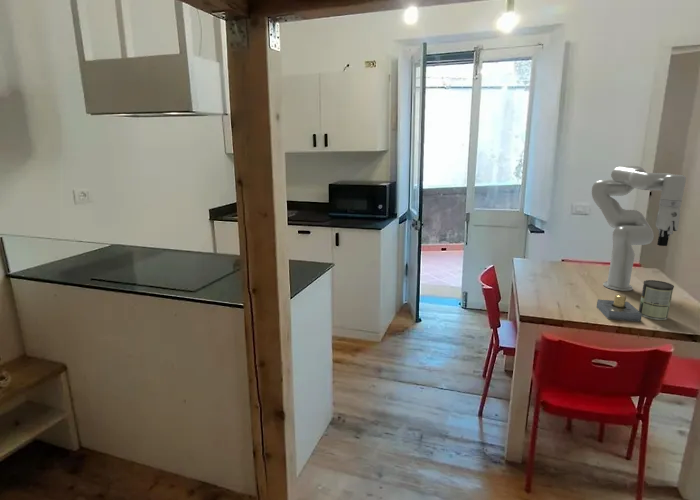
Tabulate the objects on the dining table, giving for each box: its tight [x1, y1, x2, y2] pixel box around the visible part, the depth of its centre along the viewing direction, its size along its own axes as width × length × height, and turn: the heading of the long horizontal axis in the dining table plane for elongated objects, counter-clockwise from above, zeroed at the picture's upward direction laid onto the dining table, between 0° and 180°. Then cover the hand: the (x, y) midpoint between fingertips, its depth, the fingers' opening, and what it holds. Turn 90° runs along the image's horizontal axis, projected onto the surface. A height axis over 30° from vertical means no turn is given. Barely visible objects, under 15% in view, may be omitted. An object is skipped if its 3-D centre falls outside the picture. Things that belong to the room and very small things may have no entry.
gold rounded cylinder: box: [613, 294, 627, 309], centre depth 179 cm, size 4×4×8 cm
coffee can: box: [638, 279, 675, 321], centre depth 177 cm, size 10×10×14 cm
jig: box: [596, 299, 643, 323], centre depth 180 cm, size 14×12×4 cm
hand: (662, 245), depth 187 cm, fingers closed
